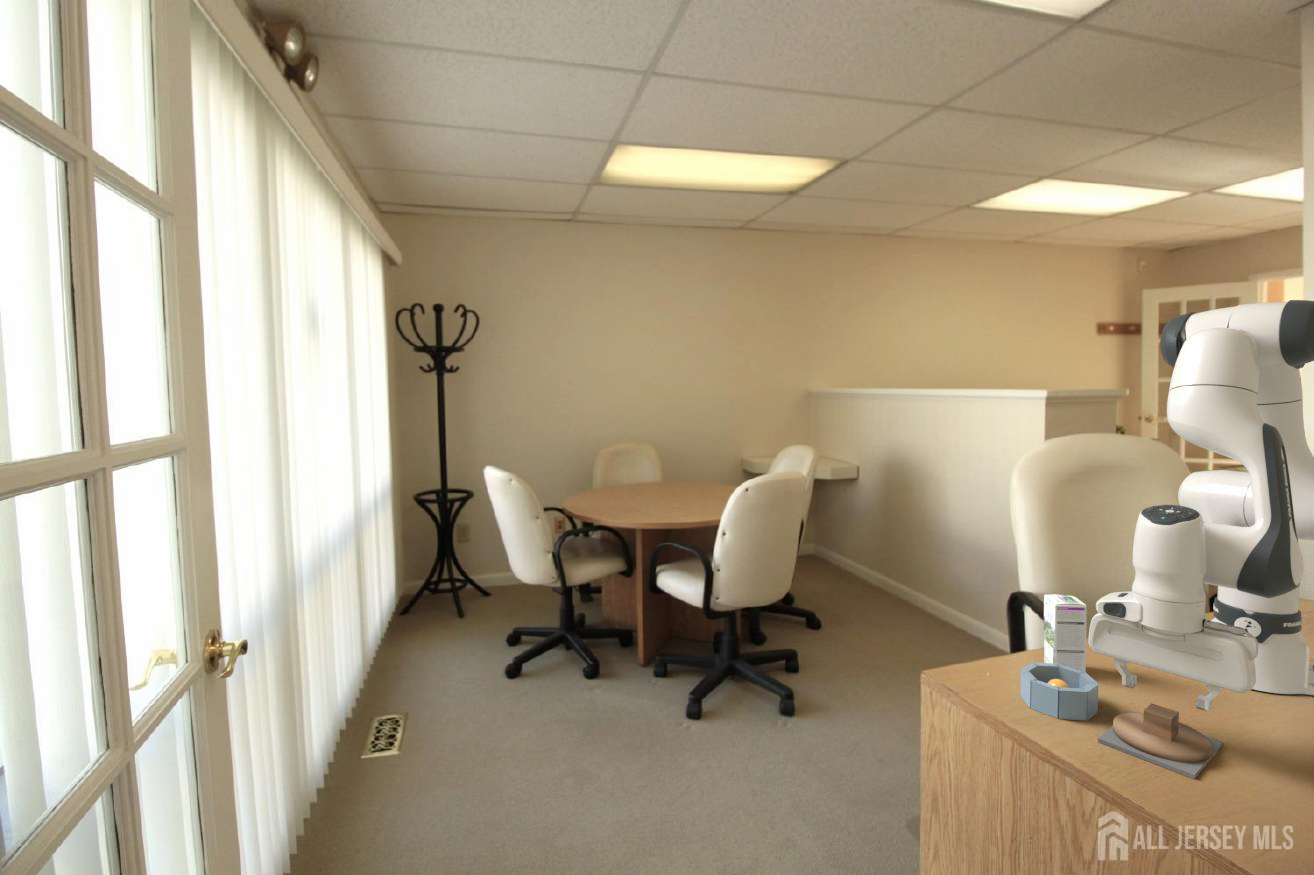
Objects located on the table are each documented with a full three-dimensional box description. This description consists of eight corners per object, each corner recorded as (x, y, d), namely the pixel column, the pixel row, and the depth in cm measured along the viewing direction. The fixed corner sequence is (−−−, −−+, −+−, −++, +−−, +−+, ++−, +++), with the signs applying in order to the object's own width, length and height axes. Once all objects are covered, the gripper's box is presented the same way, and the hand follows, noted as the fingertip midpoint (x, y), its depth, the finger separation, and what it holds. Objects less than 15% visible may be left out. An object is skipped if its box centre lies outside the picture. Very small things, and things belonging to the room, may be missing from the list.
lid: (1129, 712, 107) (1129, 685, 106) (1221, 743, 97) (1222, 714, 97) (1100, 736, 100) (1101, 707, 100) (1197, 772, 90) (1198, 741, 90)
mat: (1131, 713, 108) (1131, 710, 107) (1222, 744, 98) (1223, 741, 98) (1097, 741, 99) (1097, 738, 99) (1194, 779, 90) (1194, 775, 90)
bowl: (1039, 683, 119) (1039, 658, 118) (1105, 706, 110) (1106, 678, 110) (1011, 701, 113) (1011, 674, 112) (1079, 726, 104) (1080, 697, 103)
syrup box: (1087, 677, 121) (1089, 604, 120) (1053, 675, 122) (1055, 603, 121) (1073, 664, 126) (1075, 594, 125) (1041, 662, 127) (1043, 593, 126)
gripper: (1264, 625, 90) (1260, 716, 92) (1100, 590, 107) (1098, 668, 108) (1253, 637, 87) (1249, 732, 88) (1084, 599, 103) (1083, 680, 104)
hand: (1165, 697), depth 98 cm, fingers open, 8 cm apart
